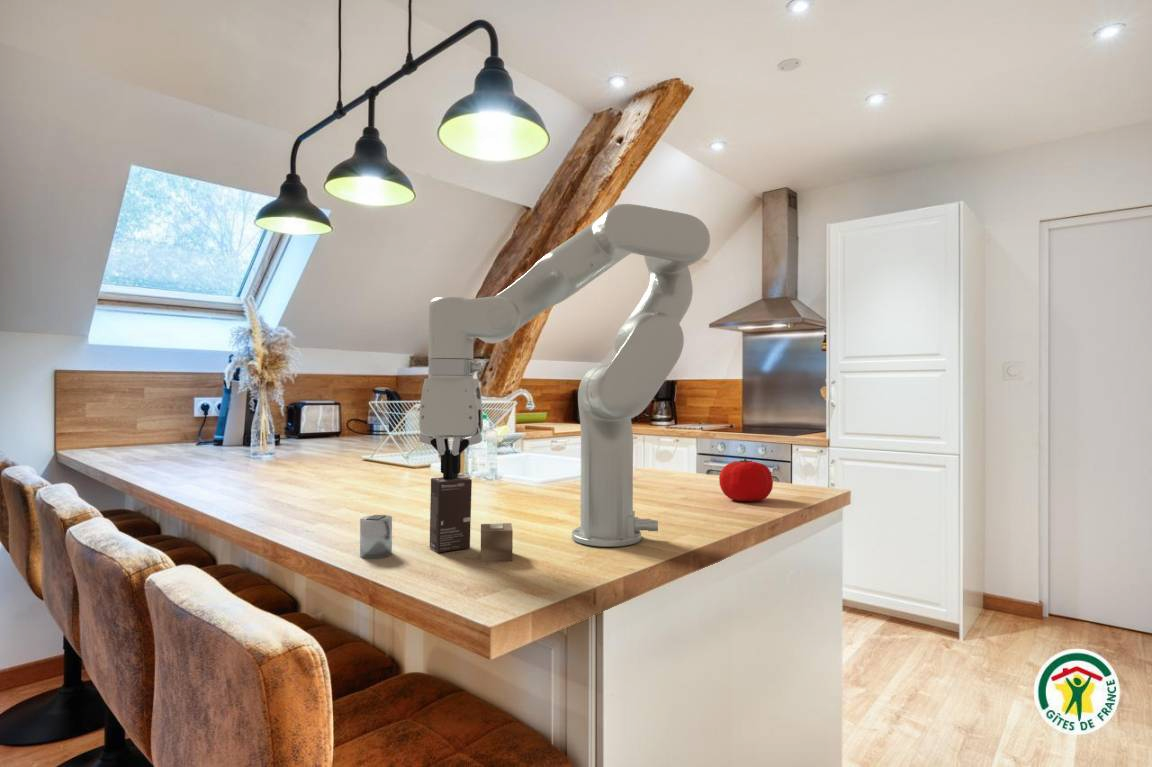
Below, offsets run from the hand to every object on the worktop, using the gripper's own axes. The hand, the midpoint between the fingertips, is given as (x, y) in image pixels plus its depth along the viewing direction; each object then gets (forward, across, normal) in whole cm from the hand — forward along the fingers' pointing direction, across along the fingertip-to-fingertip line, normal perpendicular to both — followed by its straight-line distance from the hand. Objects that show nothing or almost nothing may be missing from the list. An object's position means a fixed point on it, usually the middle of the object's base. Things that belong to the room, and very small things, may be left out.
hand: (450, 477), depth 105 cm
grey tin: (+12, +11, +5) cm, 17 cm away
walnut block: (+12, -9, +4) cm, 16 cm away
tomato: (+12, -57, -51) cm, 77 cm away
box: (+12, 0, 0) cm, 12 cm away
